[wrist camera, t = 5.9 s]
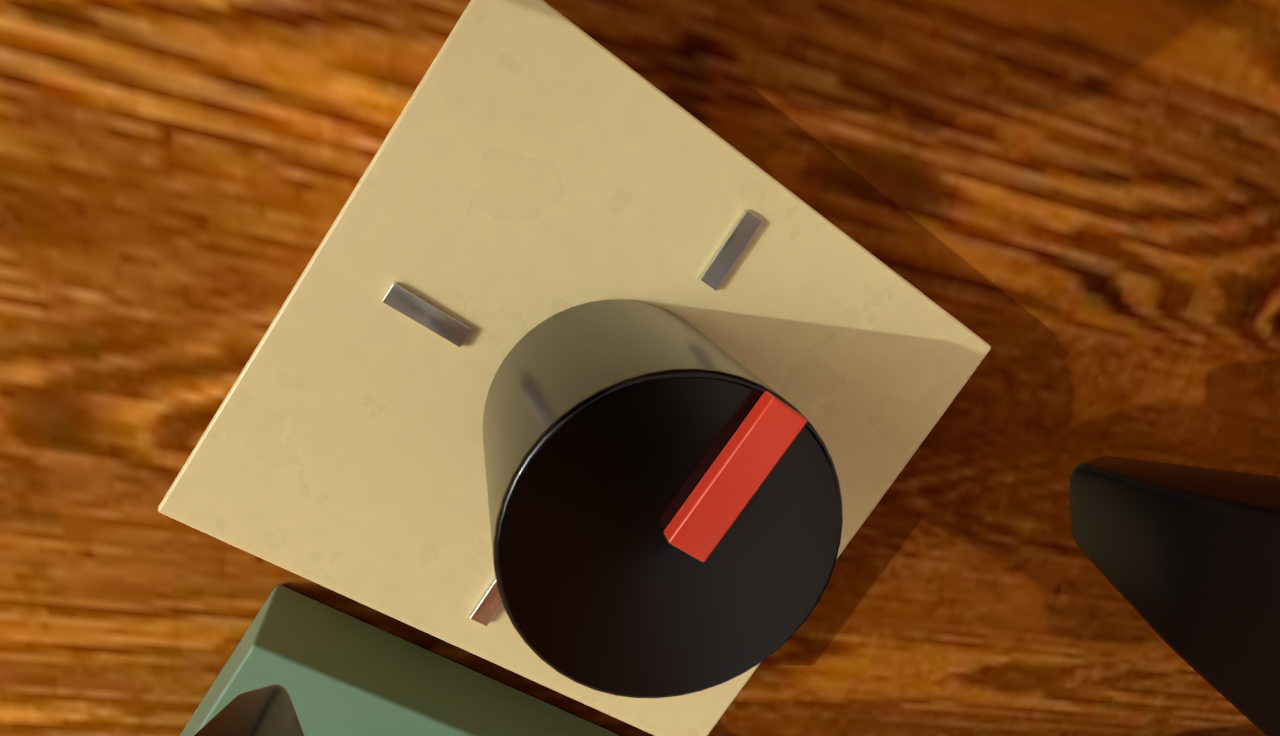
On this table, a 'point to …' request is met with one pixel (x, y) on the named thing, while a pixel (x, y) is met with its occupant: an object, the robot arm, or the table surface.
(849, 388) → the panel
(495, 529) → the stove knob
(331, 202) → the table surface
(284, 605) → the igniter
